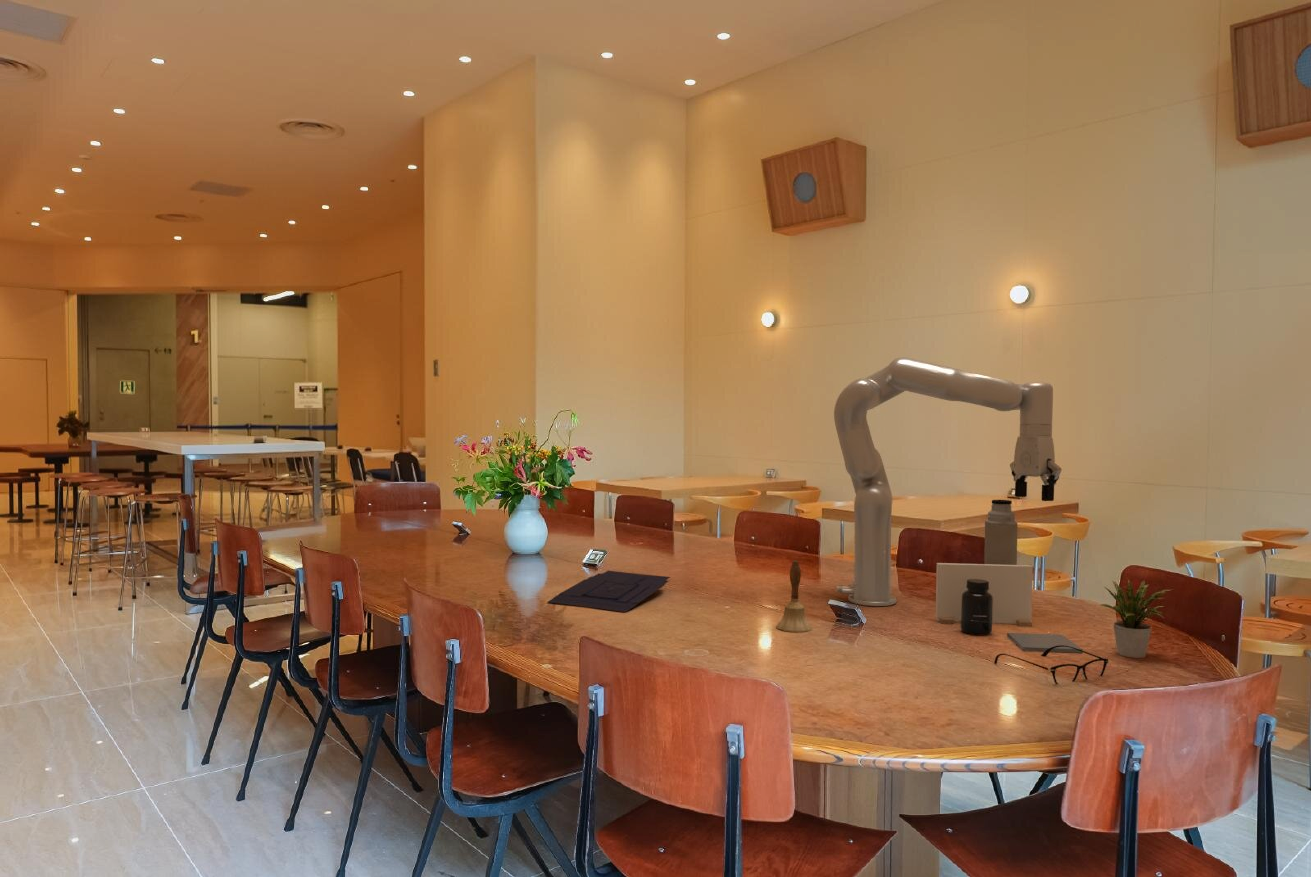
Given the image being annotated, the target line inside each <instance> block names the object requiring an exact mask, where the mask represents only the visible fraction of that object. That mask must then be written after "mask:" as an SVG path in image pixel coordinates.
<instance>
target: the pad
mask: <svg viewBox="0 0 1311 877" xmlns="http://www.w3.org/2000/svg"><path fill="white" fill-rule="evenodd" d="M1006 636H1007V637H1008V638H1009V640H1011V641H1012V642H1013V643H1014V644H1015V645H1016V646H1017V647H1018V648H1019V649H1020V650H1022V651H1024V652H1043V653H1044V652H1045V651H1046V650H1047V649H1049V648H1051V647H1054V646H1059V645H1063V646H1070V647H1073V648H1076V649H1079V650H1082V651H1083V648H1081V646H1078V645H1077V644H1076V643H1075V642H1074V641H1072V640H1070V639H1069V638H1068V637H1066V636H1065V635H1063V634H1057V633H1053V634H1052V633H1050V634H1049V633H1028V632H1027V633H1026V632H1025V633H1023V632H1007V633H1006ZM1070 647H1056V648H1054V649H1052V650H1051V651H1050V652H1049V653H1074V654H1075V653H1076V654H1083V652H1081V651H1079V650H1076V649H1073V648H1070Z"/></svg>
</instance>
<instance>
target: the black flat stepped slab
mask: <svg viewBox="0 0 1311 877" xmlns="http://www.w3.org/2000/svg"><path fill="white" fill-rule="evenodd" d="M670 578H671V576H666V575H665V576H662V575H654V574H644V573H643V574H642V573H633V572H623V571H614V570H606V571H604V572H602V573H597V574H595V575H593V576H590V577H588V578H584V579H583V580H581V581H579V582H577V583H576V584H574V585H572V586H571V587H569V588H567V589H565V590H564V591H562V592H560V593H559V594H557V595H556V596H554V597H552V598H551V599H550V600H548V601H547V603H549V604H560V605H570V606H579V607H588V608H593V609H595V608H596V609H601V610H602V609H603V610H607V611H615V612H621V613H626V612H628V611H629V610H631V609H633V608H634V607H635V606H637V605H639V604H640V603H641V602H642V601H644V600H645V599H646V598H648V597H649V596H651V595H653V594H654V593H655V592H656V591H658V590H660V589H661V588H663V587H665V586H666V584H667V583H668V582H669V580H668V579H670Z"/></svg>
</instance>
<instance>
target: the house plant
mask: <svg viewBox="0 0 1311 877" xmlns="http://www.w3.org/2000/svg"><path fill="white" fill-rule="evenodd" d="M1126 579H1127V584H1128V586H1126V585H1123V588H1125V589H1126V591H1125V592H1124V590H1123V589H1122V588H1121V586H1120V585H1119V584H1118V583H1117V582H1116V581H1113V580H1111V581H1112V583H1113V585H1114V588H1115V591H1116V592H1115V591H1113V592H1112V591H1111V589H1110V588H1107V587H1106V586H1104V588H1105V589H1106V590H1107V591H1108V592H1109V594H1110V595H1111V596H1112V597H1113V599H1114V600H1115V601H1116V603H1117V604H1118V605H1113V606H1112V605H1110V604H1106V603H1104V604H1103V603H1102V604H1100V605H1099V607H1105V608H1108V609H1111V610H1114V611H1115V612H1116V613H1117V614H1119V616H1120V619H1121V620H1119V621H1115V622H1113V623H1112V624H1113V631H1114V638H1115V643H1116V644H1115V645H1116V650H1117V654H1118V655H1120V656H1123V657H1127V658H1133V659H1142V658H1146V656H1147V651H1148V648H1149V641H1150V637H1151V631H1152V626H1151V625H1150V624H1147V623H1145V622H1146V621H1147V620H1149V619H1150V618H1151V617H1153V616H1154V615H1156V616H1159V617H1162V618H1163V619H1165V618H1164V616H1163V614H1162V611H1159V610H1157V609H1158V608H1163V607H1166V606H1164V605H1158V606H1155V607H1149V606H1150V604H1151V603H1152V602H1153V601H1156V600H1163V599H1164V600H1165V597H1159V596H1161V595H1164V594H1167V591H1168V592H1169V589H1164V590H1160V591H1156V592H1155V593H1154V592H1153V593H1152V594H1151V595H1149V596H1148V597H1146V599H1144V597H1145V596H1146V594H1147V588H1148V587H1149V583H1147V584H1145V583H1146V582H1145V579H1143V580H1142V581H1141V583H1140V585H1139V587H1138V588H1137V589H1136V592H1135V594H1134V589H1133V588H1134V587H1132V583H1131V580H1130V579H1129V577H1128V576H1127V577H1126ZM1173 590H1174V589H1171V591H1173ZM1148 616H1149V617H1148Z"/></svg>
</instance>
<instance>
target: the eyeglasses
mask: <svg viewBox="0 0 1311 877" xmlns="http://www.w3.org/2000/svg"><path fill="white" fill-rule="evenodd" d="M1056 647H1070V646H1063V645H1059V646H1054V647H1051V648H1049V649H1047V650H1046V651H1045V652H1043V653H1041V654H1040V656H1041V657H1045V658H1046V657H1047V656H1048V654H1049V653H1051V652H1050V651H1051V650H1052V649H1054V648H1056ZM1070 648H1073V647H1070ZM1073 649H1076V648H1073ZM1076 650H1079V649H1076ZM1079 651H1081V652H1082V653H1084V654H1087V655H1089V656H1092V657H1094V658H1096V659H1093V660H1089V661H1087V662H1085V663H1084V664H1081V665H1078V664H1074V663H1063V664H1058V665H1055V666H1051V667H1050V668H1049V667H1046V666H1043V665H1040V664H1036V663H1034V662H1031V661H1028V660H1025V659H1023V658H1019V657H1017V656H1014V655H1010V654H1007V653H999V654H997V655H996V656H995V659H994V661H993V663H994V664H995V665H997V664H998V660H999V658H1000V656H1008V657H1011V658H1014V659H1016V660H1020V661H1023V662H1025V663H1028V664H1031V665H1033V666H1036V667H1038V668H1041V669H1043V670H1047V671H1049V672H1050V673H1051V675H1052V679H1053V681H1054V683H1055V684H1056V685H1060V684H1059V682H1057V679H1056V670H1057V669H1058V668H1064V667H1076V671H1075V673H1074V677H1073V678H1072V680H1071V682H1072V683H1074V682H1075V681H1076V680H1077V678H1078V675H1079V673H1080V672H1081V673H1080V674H1081V676H1084V678H1085V680H1089V678H1088V677H1087V676H1088V675H1087V674H1086V667H1087V666H1088V665H1090V664H1092V663H1095V662H1102V661H1103V666H1102V669H1101V670H1102V671H1101V672H1100V675H1099V676H1101V677H1103V675H1104V672H1105V670H1106V667H1107V665H1108V664H1109V662H1110V660H1109V659H1108V658H1105V657H1101V656H1098V655H1096V654H1093V653H1089V652H1087V651H1084V650H1083V649H1082V650H1079ZM1081 669H1082V670H1081Z"/></svg>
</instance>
